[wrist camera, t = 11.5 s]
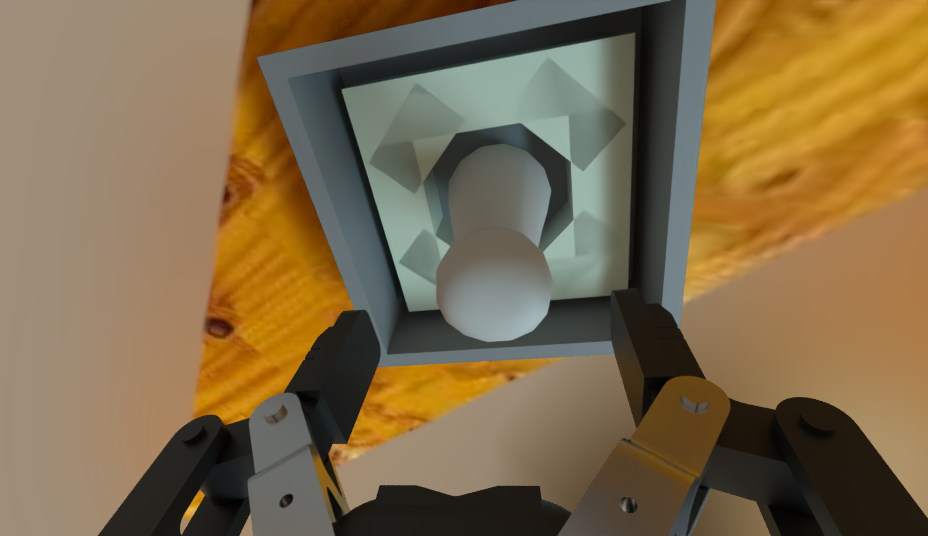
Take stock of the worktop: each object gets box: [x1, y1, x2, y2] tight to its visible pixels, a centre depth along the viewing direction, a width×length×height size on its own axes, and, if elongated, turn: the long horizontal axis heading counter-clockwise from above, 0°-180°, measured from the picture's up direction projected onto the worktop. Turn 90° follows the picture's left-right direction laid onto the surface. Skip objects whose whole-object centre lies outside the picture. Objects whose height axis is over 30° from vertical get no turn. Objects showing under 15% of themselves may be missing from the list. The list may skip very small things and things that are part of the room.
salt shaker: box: [436, 143, 553, 342], centre depth 19 cm, size 6×6×13 cm
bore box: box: [257, 0, 716, 367], centre depth 23 cm, size 18×18×7 cm
